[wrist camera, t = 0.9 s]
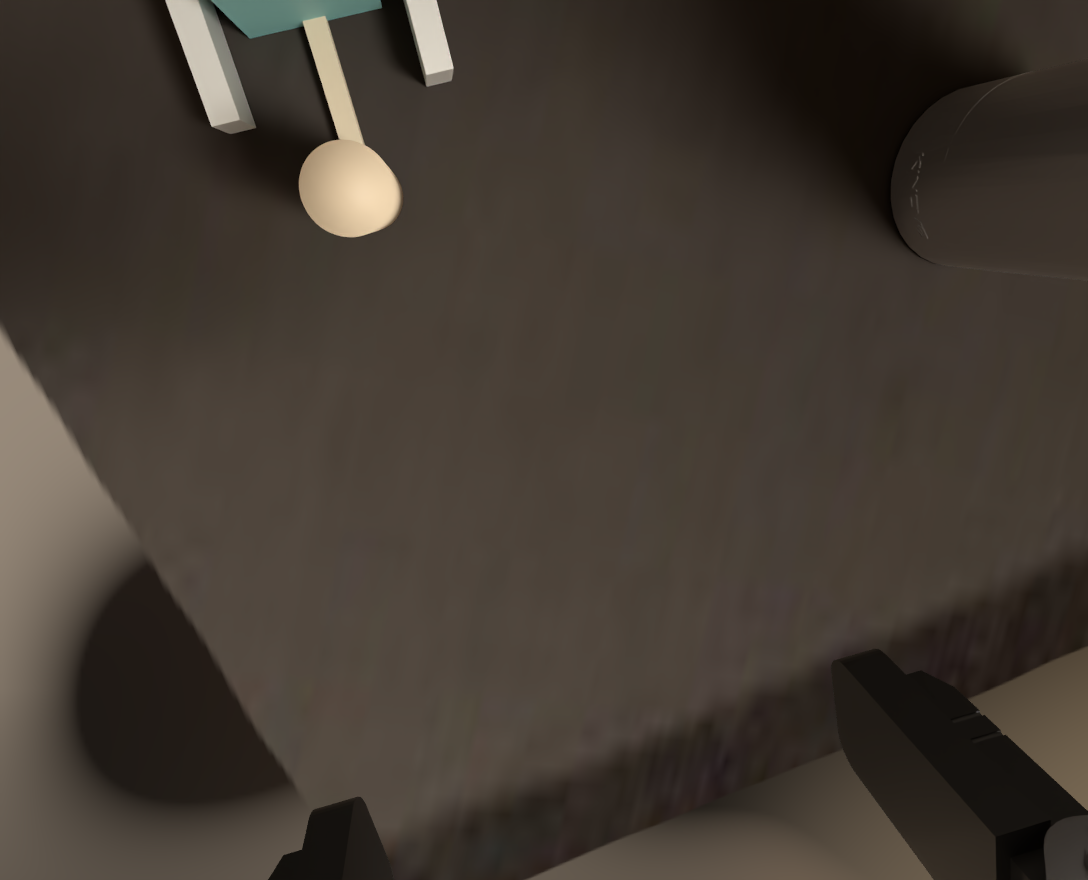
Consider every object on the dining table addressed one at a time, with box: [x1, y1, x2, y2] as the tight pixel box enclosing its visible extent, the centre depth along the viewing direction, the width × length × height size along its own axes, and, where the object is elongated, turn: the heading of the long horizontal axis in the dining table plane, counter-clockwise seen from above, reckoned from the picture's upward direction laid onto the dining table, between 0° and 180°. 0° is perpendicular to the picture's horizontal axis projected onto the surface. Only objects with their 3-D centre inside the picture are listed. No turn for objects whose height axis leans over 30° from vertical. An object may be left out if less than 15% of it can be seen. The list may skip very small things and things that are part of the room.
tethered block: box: [211, 0, 403, 237], centre depth 27 cm, size 6×15×10 cm, turn 14°
